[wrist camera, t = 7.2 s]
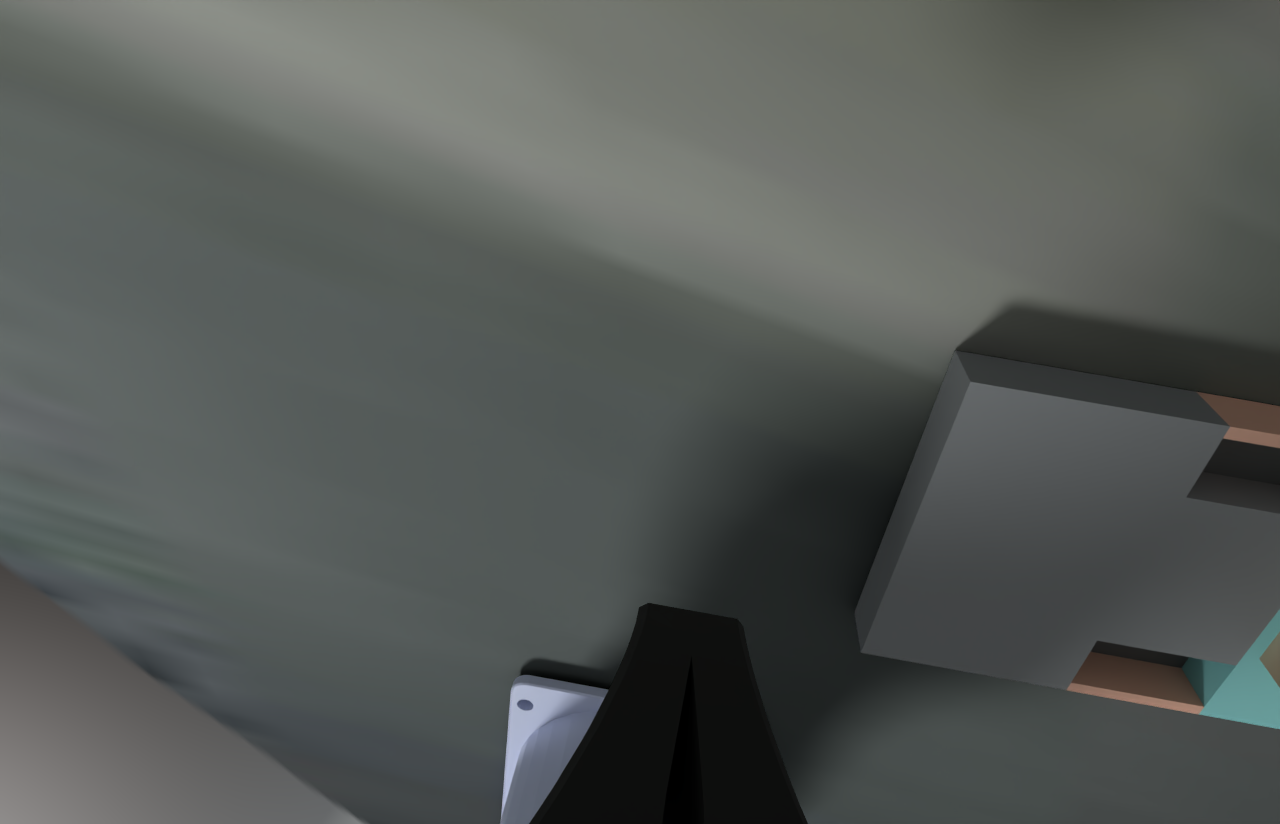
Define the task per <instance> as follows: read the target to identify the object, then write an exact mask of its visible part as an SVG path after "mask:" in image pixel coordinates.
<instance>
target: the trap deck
mask: <svg viewBox="0 0 1280 824" xmlns="http://www.w3.org/2000/svg"><path fill="white" fill-rule="evenodd" d="M854 613H855V619H856V626H857V632H858V638H859V645H860V651H861V653H865V654H870V655H876V656H881V657H887V658H892V659H898V660H903V661H909V662H914V663H920V664H925V665H931V666H936V667H942V668H947V669H953V670H958V671H964V672H969V673H975V674H980V675H986V676H991V677H997V678H1002V679H1008V680H1013V681H1019V682H1024V683H1030V684H1035V685H1041V686H1046V687H1051V688H1057V689H1062V690H1068V691H1073V692H1079V693H1084V694H1090V695H1095V696H1101V697H1106V698H1112V699H1117V700H1123V701H1128V702H1134V703H1139V704H1145V705H1150V706H1156V707H1161V708H1167V709H1172V710H1178V711H1183V712H1189V713H1194V714H1200V715H1205V716H1211V717H1216V718H1222V719H1227V720H1233V721H1238V722H1244V723H1249V724H1255V725H1260V726H1266V727H1271V728H1276V729H1280V688H1279V686H1278V685H1277V683H1276V682H1275V680H1274V679H1273V678H1272V676H1271V675H1270V673H1269V672H1268V670H1267V669H1266V668H1265V666H1264V665H1263V663H1262V662H1261V661H1260V659H1259V658H1260V657H1261V656H1262V654H1263V653H1264V652H1265V650H1266V649H1267V648H1268V646H1269V645H1270V644H1271V642H1272V641H1273V640H1274V638H1275V637H1276V636H1277V635H1278V633H1279V632H1280V406H1276V405H1270V404H1265V403H1259V402H1253V401H1247V400H1241V399H1235V398H1230V397H1224V396H1218V395H1212V394H1206V393H1201V392H1195V391H1189V390H1183V389H1177V388H1171V387H1166V386H1160V385H1154V384H1148V383H1142V382H1137V381H1131V380H1125V379H1119V378H1113V377H1107V376H1102V375H1096V374H1090V373H1084V372H1078V371H1073V370H1067V369H1061V368H1055V367H1049V366H1043V365H1038V364H1032V363H1026V362H1020V361H1014V360H1009V359H1003V358H997V357H991V356H985V355H979V354H974V353H968V352H962V351H956V350H955V351H954V354H953V356H952V359H951V362H950V364H949V367H948V369H947V372H946V375H945V377H944V380H943V383H942V385H941V388H940V390H939V393H938V396H937V398H936V401H935V403H934V406H933V409H932V411H931V414H930V416H929V419H928V422H927V424H926V427H925V429H924V432H923V435H922V437H921V440H920V442H919V445H918V448H917V450H916V453H915V455H914V458H913V461H912V463H911V466H910V468H909V471H908V474H907V476H906V479H905V482H904V484H903V487H902V489H901V492H900V495H899V497H898V500H897V502H896V505H895V508H894V510H893V513H892V515H891V518H890V521H889V523H888V526H887V528H886V531H885V534H884V536H883V539H882V541H881V544H880V547H879V549H878V552H877V554H876V557H875V560H874V562H873V565H872V567H871V570H870V573H869V575H868V578H867V581H866V583H865V586H864V588H863V591H862V594H861V596H860V599H859V601H858V604H857V607H856V609H855V612H854Z"/></svg>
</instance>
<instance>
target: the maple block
mask: <svg viewBox="0 0 1280 824" xmlns="http://www.w3.org/2000/svg"><path fill="white" fill-rule="evenodd" d="M1259 659H1260V661H1261V662H1262V663H1263V665H1264V666H1265V668H1266V669H1267V670H1268V672H1269V673H1270V675H1271V676H1272V678H1273V679H1274V680H1275V682H1276V683H1277V685H1278V686H1279V688H1280V632H1279V633H1278V635H1277V636H1276V637H1275V638H1274V640H1273V641H1272V642H1271V644H1270V645H1269V646H1268V648H1267V649H1266V650H1265V652H1264V653H1263V654H1262V656H1261V657H1260V658H1259Z"/></svg>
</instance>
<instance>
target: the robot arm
mask: <svg viewBox="0 0 1280 824" xmlns="http://www.w3.org/2000/svg"><path fill="white" fill-rule="evenodd" d="M500 824H808V823H807V821H806V818H805V816H804V814H803V811H802V809H801V807H800V804H799V802H798V799H797V797H796V794H795V792H794V789H793V787H792V784H791V782H790V779H789V777H788V774H787V771H786V769H785V766H784V763H783V760H782V758H781V755H780V752H779V749H778V747H777V744H776V741H775V738H774V736H773V733H772V730H771V727H770V724H769V721H768V718H767V715H766V712H765V709H764V706H763V703H762V699H761V696H760V693H759V689H758V686H757V683H756V679H755V676H754V672H753V668H752V665H751V661H750V657H749V652H748V648H747V644H746V639H745V634H744V628H743V626H742V625H741V623H740V622H739V621H738V620H737V619H734V618H729V617H723V616H718V615H712V614H707V613H701V612H696V611H690V610H685V609H679V608H674V607H668V606H663V605H657V604H652V603H647V604H645V605H643V606H641V607H639V611H638V615H637V620H636V624H635V627H634V630H633V634H632V637H631V640H630V642H629V645H628V648H627V650H626V653H625V655H624V658H623V660H622V662H621V664H620V667H619V669H618V671H617V673H616V676H615V678H614V680H613V682H612V684H611V686H610V688H609V690H608V689H603V688H597V687H592V686H586V685H581V684H576V683H570V682H565V681H559V680H554V679H549V678H543V677H538V676H532V675H522V676H518V677H517V678H516V679H515V680H514V682H513V685H512V689H511V696H510V709H509V722H508V736H507V749H506V762H505V775H504V788H503V801H502V814H501V822H500Z"/></svg>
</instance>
